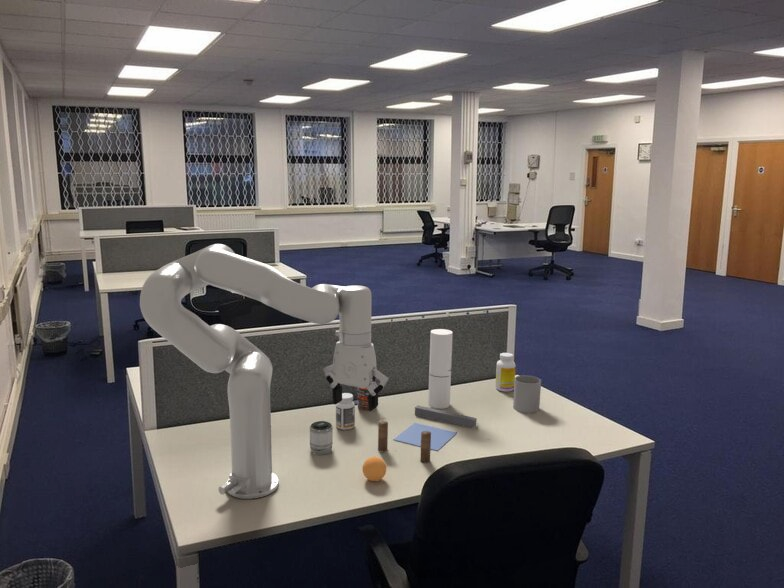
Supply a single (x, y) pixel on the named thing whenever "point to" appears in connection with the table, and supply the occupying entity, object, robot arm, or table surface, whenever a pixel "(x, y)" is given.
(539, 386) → the cup
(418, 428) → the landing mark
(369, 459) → the ball
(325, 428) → the camera lens
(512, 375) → the supplement bottle
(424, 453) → the right post
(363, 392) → the supplement bottle
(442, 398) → the cylindrical container
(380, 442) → the left post
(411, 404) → the table surface
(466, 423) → the wall
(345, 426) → the pill bottle
